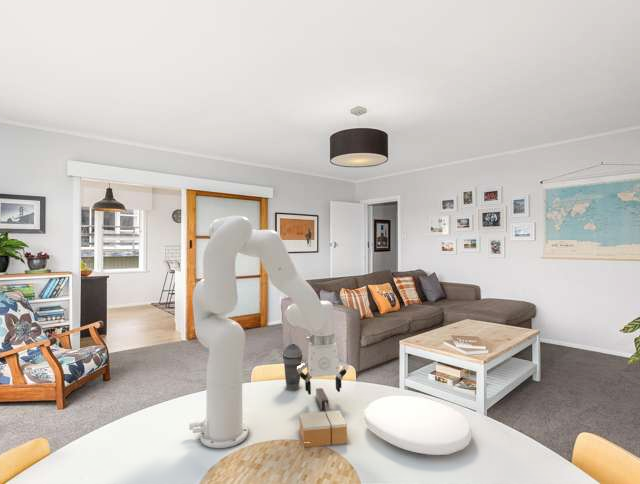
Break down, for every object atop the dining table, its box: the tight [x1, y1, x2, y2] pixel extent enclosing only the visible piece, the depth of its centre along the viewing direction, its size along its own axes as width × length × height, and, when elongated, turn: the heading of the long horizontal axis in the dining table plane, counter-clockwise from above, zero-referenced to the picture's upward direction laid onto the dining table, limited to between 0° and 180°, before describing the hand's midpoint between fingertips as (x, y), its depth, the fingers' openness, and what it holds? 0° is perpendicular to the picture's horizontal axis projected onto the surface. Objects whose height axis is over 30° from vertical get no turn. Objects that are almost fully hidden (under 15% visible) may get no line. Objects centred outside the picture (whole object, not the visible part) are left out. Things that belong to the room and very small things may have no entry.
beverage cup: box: [282, 331, 304, 391], centre depth 133 cm, size 7×7×20 cm
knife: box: [315, 387, 331, 413], centre depth 116 cm, size 2×19×3 cm, turn 9°
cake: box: [299, 411, 332, 448], centre depth 99 cm, size 7×8×5 cm
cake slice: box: [325, 410, 348, 445], centre depth 100 cm, size 4×8×5 cm, turn 9°
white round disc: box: [363, 395, 473, 456], centre depth 101 cm, size 28×6×27 cm
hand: (323, 391), depth 120 cm, fingers open, 9 cm apart
